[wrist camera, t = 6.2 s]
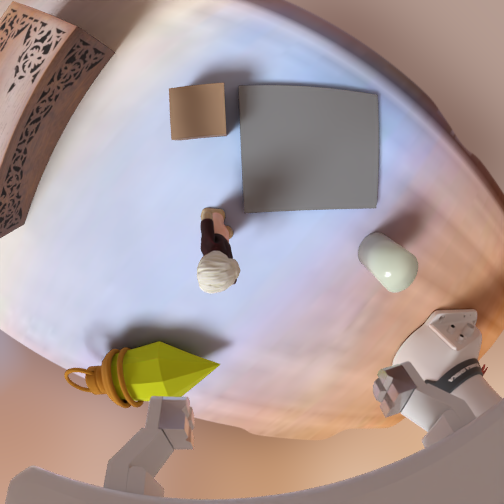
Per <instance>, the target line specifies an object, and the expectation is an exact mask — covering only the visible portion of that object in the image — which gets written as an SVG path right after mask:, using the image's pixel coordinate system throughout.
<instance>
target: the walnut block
mask: <svg viewBox="0 0 504 504" xmlns="http://www.w3.org/2000/svg"><path fill="white" fill-rule="evenodd" d="M169 102H170V123H171V139H172V140H188V139H197V138H207V137H219V136H226V117H225V96H224V83H212V84H201V85H192V86H184V87H177V88H170V89H169Z"/></svg>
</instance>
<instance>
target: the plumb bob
mask: <svg viewBox="0 0 504 504" xmlns="http://www.w3.org/2000/svg"><path fill="white" fill-rule="evenodd" d="M219 365H220V364H218V363H216V362H213V361H210V360H207V359H204V358H201V357H199V356H196V355H193V354H191V353H188V352H185V351H183V350H180V349H178V348H175V347H173V346H170V345H168V344H165V343H163V342H160V341H158V342H155V343H152V344H148V345H145V346H141V347H138V348H135V349H130V348H127V347H125V348H122V349H121V350H118V349H112V350H111V351H110V352H109V353H107V354H106V356H105V358H104V359H103V362H102V366H91V367H89V368H88V369H87V370H86V369H82V368H71V369H68V370H67V371H66V372H65V379H66V380H67V382H68V383H69V384H70V385H72V386H73V387H75V388H77V389H79V390H82V391H86V392H92V393H93V394H95V395H97V394H107V395H108V396H109V398H110V399H111V400H112V401H114V402H115V403H116V404H117V405H119V406H121V407H123V408H128V407H130V406H131V405H132V406H133V407H140V406H141V405H142V404H143V402H144V401H150V398H151V396H165V397H181V396H183V395H184V394H185V393H186V392H188V391H189V390H190V389H191V388H193V387H194V386H195V385H196V384H198V383H199V382H200V381H201V380H202V379H204V378H205V377H206V376H207V375H208V374H210V373H211V372H212V371H213V370H214V369H216V368H217V367H218V366H219ZM72 372H81V373H86V376H85V380H86V384H87V386H88V388H84V387H81V386H79V385H77V384H75V383H73V382H72V381H71V380H70V379H69V377H68V375H69V374H70V373H72ZM134 400H136V401H138V402H135V401H134Z"/></svg>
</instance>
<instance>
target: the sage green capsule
mask: <svg viewBox="0 0 504 504" xmlns="http://www.w3.org/2000/svg"><path fill="white" fill-rule="evenodd" d="M358 257H359V260H360V262H361V263H362V264H363V265H364V266H365V267H366V268H367V269H368V270H369V271H370V272H371V273H372V274H373V275H374V276H375V277H376V278H377V280H378V281H379V282H380V283H381V284H382V285H383V286H384V287H385V288H386V289H387V290H388V291H390V292H395V293H396V292H400V291H403V290H405V289H406V288H407V287H409V286H410V285H411V283H412V282H413V281H414V279H415V277H416V275H417V271H418V261H417V259H416V257H415V256H414V255H413V254H411V253H410V252H409V251H407V250H406V249H404V248H403V247H402V246H400V245H399V244H397V243H396V242H394V241H393V240H391V239H390V238H389V237H387V236H386V235H384V234H382V233H379V232H376V233H372V234H369V235H368V236H366V237H365V238H364V239H363V241H362V242H361V244H360V246H359V250H358Z"/></svg>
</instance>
